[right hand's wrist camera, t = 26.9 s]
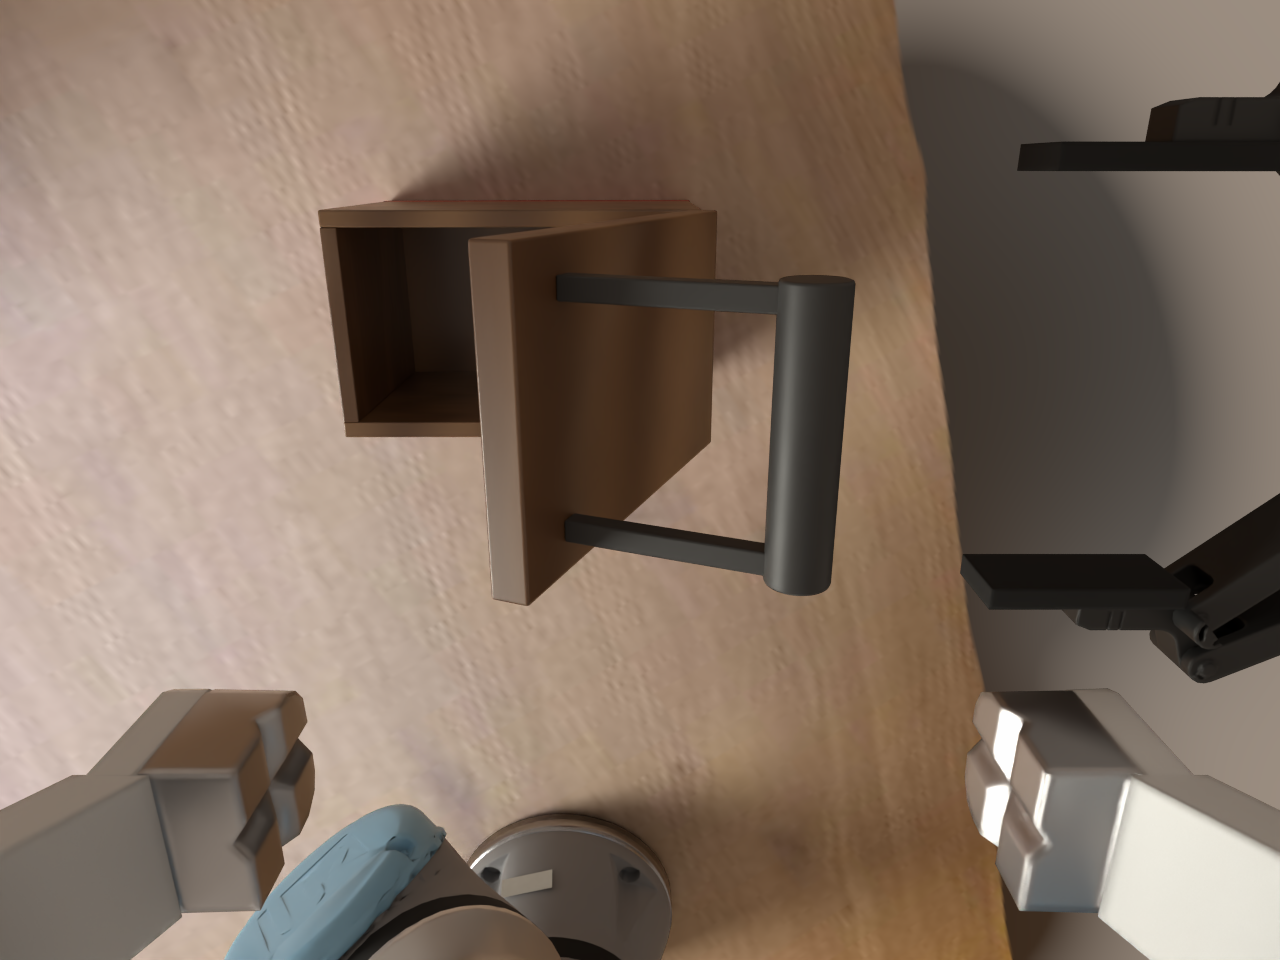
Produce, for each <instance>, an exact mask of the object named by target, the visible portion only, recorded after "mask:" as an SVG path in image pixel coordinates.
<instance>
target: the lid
mask: <svg viewBox="0 0 1280 960" xmlns="http://www.w3.org/2000/svg"><path fill="white" fill-rule="evenodd" d="M716 232H717V211H715V210H687V211H679V212H671V213H664V214H656V215H648V216H640V217H633V218H625V219H617V220H609V221H601V222H594V223H586V224H578V225H570V226H563V227H555V228H547V229H539V230H532V231H524V232H516V233H508V234H500V235H493V236H485V237H477V238H471V239H469V240H468V251H469V266H470V281H471V296H472V310H473V325H474V340H475V354H476V369H477V384H478V398H479V413H480V428H481V443H482V457H483V472H484V487H485V501H486V516H487V531H488V545H489V560H490V575H491V590H492V598H493V599H495V600H500V601H505V602H510V603H515V604H520V605H524V606H528V605H530V604H531V603H532V602H533V601H535V600H536V599H537V598H538V597H539V596H540V595H541V594H542V593H543V592H545V591H546V590H547V589H548V588H549V587H550V586H551V585H552V584H553V583H555V582H556V581H557V580H558V579H559V578H560V577H561V576H562V575H564V574H565V573H566V572H567V571H568V570H569V569H570V568H571V567H572V566H574V565H575V564H576V563H577V562H578V561H579V560H580V559H581V558H582V557H584V556H585V555H586V554H587V553H588V552H589V551H590V550H591V549H592V548H594V547H600V548H606V549H611V550H617V551H623V552H629V553H635V554H640V555H646V556H652V557H658V558H664V559H669V560H675V561H681V562H687V563H693V564H699V565H704V566H710V567H716V568H722V569H728V570H733V571H739V572H745V573H751V574H757V575H762V576H763V579H764V582H765V583H766V585H767V586H768V587H770V588H771V589H773V590H775V591H777V592H780V593H783V594H788V595H794V596H810V595H816V594H819V593H822V592H824V591H825V590H827V589H828V587H829V586H830V584H831V574H832V562H833V550H834V538H835V526H836V514H837V501H838V489H839V477H840V465H841V453H842V441H843V429H844V416H845V404H846V392H847V380H848V368H849V356H850V344H851V331H852V319H853V307H854V295H855V281H854V280H852V279H850V278H846V277H839V276H826V275H797V276H788V277H784V278H781V279H780V280H779V282H762V281H741V280H719V279H715V268H716ZM714 311H724V312H741V313H758V314H774V315H777V318H776V338H775V357H774V376H773V395H772V414H771V433H770V453H769V472H768V491H767V510H766V529H765V543H760V542H754V541H748V540H741V539H735V538H729V537H722V536H716V535H710V534H703V533H697V532H691V531H684V530H678V529H672V528H665V527H659V526H653V525H646V524H640V523H634V522H627V521H624V520H625V519H626V518H627V517H628V516H629V515H630V514H631V513H632V512H634V511H635V510H636V509H637V508H638V507H639V506H640V505H641V504H642V503H644V502H645V501H646V500H647V499H648V498H649V497H650V496H651V495H652V494H654V493H655V492H656V491H657V490H658V489H659V488H660V487H661V486H662V485H664V484H665V483H666V482H667V481H668V480H669V479H670V478H671V477H672V476H674V475H675V474H676V473H677V472H678V471H679V470H680V469H681V468H682V467H684V466H685V465H686V464H687V463H688V462H689V461H690V460H691V459H692V458H694V457H695V456H696V455H697V454H698V453H699V452H700V451H701V450H702V449H704V448H705V447H706V446H707V445H708V444H709V443H710V442H711V414H712V377H713V341H714Z"/></svg>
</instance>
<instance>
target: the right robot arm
mask: <svg viewBox="0 0 1280 960" xmlns="http://www.w3.org/2000/svg"><path fill="white" fill-rule="evenodd" d="M306 723H307V717H306V712H305V707H304V702H303V698H302V697H301V696H300V695H299V694H298V693H297V692H296V691H274V690H226V689H215V690H210V689H173V690H169V691H166V692H163V693H162V694H161V695H160V696H159V697H158V698H157V699H156V700H155V701H154V702H153V703H152V704H151V705H150V706H149V708H148V709H147V710H146V711H145V712H144V713H143V714H142V715H141V716H140V717H139V718H138V719H137V721H136V722H135V723H134V724H133V725H132V726H131V727H130V728H129V729H128V730H127V731H126V732H125V734H124V735H123V736H122V737H121V738H120V739H119V740H118V741H117V742H116V743H115V744H114V745H113V747H112V748H111V749H110V750H109V751H108V752H107V753H106V754H105V755H104V756H103V757H102V758H101V760H100V761H99V762H98V763H97V764H96V765H95V766H94V767H93V768H92V769H91V770H90V772H89V773H88V774H87V775H72V776H70V777H68V778H66V779H63V780H61V781H59V782H57V783H55V784H53V785H51V786H49V787H47V788H45V789H43V790H41V791H39V792H37V793H35V794H33V795H31V796H29V797H27V798H24V799H22V800H20V801H18V802H16V803H14V804H12V805H10V806H8V807H6V808H4V809H2V810H0V960H131V959H132V958H133V957H134V956H136V955H137V954H138V953H139V952H140V951H142V950H143V949H144V948H145V947H146V946H148V945H149V944H150V943H151V942H152V941H154V940H155V939H156V938H157V937H158V936H160V935H161V934H162V933H163V932H165V931H166V930H167V929H168V928H169V927H171V926H172V925H173V924H174V923H175V922H177V921H178V920H179V919H180V918H181V917H182V914H181V913H197V912H231V911H261V909H262V907H263V905H264V903H265V901H266V899H267V897H268V895H269V893H270V891H271V889H272V887H273V885H274V883H275V882H276V880H277V878H278V876H279V874H280V872H281V870H282V868H283V866H284V864H285V863H284V857H283V851H282V846H284V845H285V844H287V843H288V842H289V841H291V840H292V839H294V838H295V837H297V836H298V835H300V833H301V831H302V829H303V827H304V824H305V822H306V820H307V818H308V816H309V813H310V808H311V804H312V799H313V795H314V791H315V768H314V761H313V754H312V752H311V751H310V750H309V749H308V748H307V747H306V746H305V745H304V744H303V743H302V742H301V741H300V740H299V739H298V737H299V735H300V734H301V732H302V730H303V728H304V727H305V725H306ZM973 723H974V725H975V727H976V728H977V730H978V732H979V734H980V735H981V737H982V739H981V740H980V741H979V742H978V743H977V744H976V745H975V746H974V747H973V748H972V749H971V750H970V751H969V752H968V754H967V762H966V771H965V785H966V795H967V802H968V805H969V809H970V812H971V816H972V818H973V821H974V823H975V825H976V827H977V829H978V831H979V833H980V835H982V836H983V837H985V838H986V839H988V840H989V841H991V842H992V843H993V844H995V845H996V846H998V851H997V857H996V863H995V864H996V866H997V868H998V870H999V872H1000V874H1001V876H1002V878H1003V880H1004V882H1005V883H1006V885H1007V887H1008V889H1009V891H1010V893H1011V895H1012V897H1013V899H1014V901H1015V903H1016V905H1017V906H1018V908H1019V910H1020V911H1048V912H1083V913H1099V914H1098V917H1099V918H1100V919H1101V920H1103V921H1104V922H1105V923H1106V924H1107V925H1109V926H1110V927H1111V928H1112V929H1113V930H1115V931H1116V932H1117V933H1118V934H1120V935H1121V936H1122V937H1123V938H1124V939H1126V940H1127V941H1128V942H1129V943H1130V944H1132V945H1133V946H1134V947H1135V948H1136V949H1138V950H1139V951H1140V952H1141V953H1142V954H1144V955H1145V956H1146V957H1147V958H1148V959H1150V960H1280V810H1278V809H1276V808H1274V807H1272V806H1270V805H1268V804H1266V803H1264V802H1262V801H1259V800H1257V799H1255V798H1253V797H1251V796H1249V795H1247V794H1245V793H1243V792H1241V791H1239V790H1237V789H1235V788H1233V787H1231V786H1229V785H1227V784H1225V783H1223V782H1221V781H1218V780H1216V779H1214V778H1212V777H1210V776H1208V775H1193V774H1192V773H1191V772H1190V770H1189V769H1188V768H1187V767H1186V766H1185V765H1184V764H1183V763H1182V762H1181V761H1180V760H1179V759H1178V757H1177V756H1176V755H1175V754H1174V753H1173V752H1172V751H1171V750H1170V749H1169V748H1168V747H1167V746H1166V744H1165V743H1164V742H1163V741H1162V740H1161V739H1160V738H1159V737H1158V736H1157V735H1156V734H1155V732H1154V731H1153V730H1152V729H1151V728H1150V727H1149V726H1148V725H1147V724H1146V723H1145V722H1144V720H1143V719H1142V718H1141V717H1140V716H1139V715H1138V714H1137V713H1136V712H1135V711H1134V710H1133V709H1132V707H1131V706H1130V705H1129V704H1128V703H1127V702H1126V701H1125V700H1124V699H1123V698H1122V697H1121V696H1120V694H1119V693H1117V692H1114V691H1112V690H1110V689H1079V690H1065V691H1018V692H981V694H980V696H979V698H978V700H977V702H976V705H975V710H974V716H973Z"/></svg>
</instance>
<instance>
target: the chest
mask: <svg viewBox="0 0 1280 960" xmlns="http://www.w3.org/2000/svg"><path fill="white" fill-rule="evenodd" d="M687 210H701V209H700V208H698V207H697V206H695V205H694V204H692V203H691V202H690V201H689V200H461V201H384V202H379V203H371V204H363V205H355V206H347V207H340V208H332V209H324V210H319V211H318V216H319V224H320V227H322V228H320V234H321V242H322V250H323V259H324V267H325V275H326V283H327V291H328V299H329V307H330V315H331V323H332V331H333V339H334V347H335V355H336V363H337V371H338V379H339V387H340V395H341V403H342V411H343V419H344V428H345V436H346V437H481V428H480V413H479V398H478V384H477V369H476V354H475V340H474V325H473V310H472V296H471V281H470V266H469V251H468V240H469V239H471V238H477V237H485V236H493V235H500V234H508V233H516V232H524V231H532V230H539V229H547V228H555V227H563V226H570V225H578V224H586V223H594V222H601V221H609V220H617V219H625V218H633V217H640V216H648V215H656V214H664V213H671V212H679V211H687Z"/></svg>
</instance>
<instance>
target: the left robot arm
mask: <svg viewBox="0 0 1280 960" xmlns="http://www.w3.org/2000/svg"><path fill="white" fill-rule="evenodd" d="M1017 170H1018V171H1276V172H1277V173H1278V174H1279V175H1280V83H1279V84H1278V86H1277V87H1276V88H1275V89H1274V90H1273V91H1272V92H1271V93H1270V94H1268V95H1267V96H1265V97H1198V98H1190V99H1183V100H1175V101H1169V102H1167V103H1164V104H1162V105H1159V106H1157V107H1154V108H1152V109H1151V114H1150V119H1149V125H1148V130H1147V135H1146V140H1145V142H1050V143H1035V144H1021V148H1020V155H1019V162H1018V169H1017ZM960 574H961V575H962V576H963V577H964V579H965V580H966V581H967V582H968V584H969V585H970V586H971V587H972V589H973V590H974V591H975V592H976V594H977V595H978V596H979V598H980V599H981V600H982V601H983V603H984V604H985V605H986V606H987V608H988V609H1062V610H1063V611H1064V612H1065V613H1066V615H1067V616H1068V617H1069V618H1070V619H1071V620H1072V621H1073V622H1074V623H1075V624H1076V625H1078V626H1081V627H1083V628H1086V629H1088V630H1106V629H1107V630H1118V629H1119V630H1151V631H1150V640H1151V641H1152V643H1153V644H1154V645H1155V646H1156V647H1157V648H1159V649H1160V650H1161V651H1162V652H1163V653H1164V654H1165V655H1166V656H1167V657H1168V658H1169V659H1170V660H1172V661H1173V662H1174V663H1175V664H1176V665H1177V666H1178V667H1179V668H1180V669H1181V670H1182V671H1184V672H1185V673H1186V674H1187V675H1188V676H1189V677H1190V678H1191V679H1192V680H1194V681H1196V682H1197V683H1208V682H1212V681H1214V680H1217V679H1219V678H1222V677H1225V676H1227V675H1230V674H1232V673H1235V672H1238V671H1240V670H1243V669H1245V668H1248V667H1251V666H1253V665H1256V664H1258V663H1261V662H1264V661H1266V660H1269V659H1271V658H1274V657H1277V656H1279V655H1280V494H1278V495H1276V496H1275V497H1273V498H1272V499H1270V500H1269V501H1267V502H1266V503H1264V504H1263V505H1261V506H1260V507H1258V508H1257V509H1255V510H1253V511H1252V512H1250V513H1249V514H1247V515H1246V516H1244V517H1243V518H1241V519H1240V520H1238V521H1237V522H1235V523H1233V524H1232V525H1230V526H1229V527H1227V528H1226V529H1224V530H1223V531H1221V532H1220V533H1218V534H1217V535H1215V536H1213V537H1212V538H1210V539H1209V540H1207V541H1206V542H1204V543H1203V544H1201V545H1200V546H1198V547H1197V548H1195V549H1194V550H1192V551H1190V552H1189V553H1187V554H1186V555H1184V556H1183V557H1181V558H1180V559H1178V560H1177V561H1175V562H1174V563H1172V564H1170V565H1169V566H1167V567H1166V568H1163V567H1161V566H1160V565H1159V564H1157V563H1156V562H1155V561H1153V560H1152V559H1151V558H1149V557H1148V556H1147V555H1145V554H963V557H962V564H961V571H960ZM1194 594H1197V595H1194ZM445 836H446V832H445V830H444V828H442V827H436V825H435V824H434V823H433V822H432V821H431V820H430V819H429V818H428V817H427V816H426V815H425V814H424V813H423V812H422V811H420V810H419V809H417V808H416V807H413V806H410V805H403V804H398V805H391V806H387V807H383V808H381V809H378V810H375V811H373V812H371V813H369V814H367V815H365V816H363V817H361V818H360V819H358V820H357V821H355V822H353V823H351V824H350V825H348V826H347V827H345V828H343V829H342V830H341V831H339V832H338V833H336V834H335V835H334V836H332V837H331V838H330V839H328V840H327V841H326V842H325V843H324V844H322V845H321V846H320V847H319V848H317V849H316V850H315V851H314V852H313V853H311V854H310V855H309V856H308V857H307V858H306V859H305V860H304V861H302V862H301V863H300V864H299V865H298V866H297V867H296V868H295V869H294V870H293V871H292V872H291V873H290V874H289V875H288V876H287V877H286V878H285V879H284V880H283V881H282V882H281V883H280V884H279V885H278V886H277V887H276V888H275V889H274V890H273V891H272V893H271V894H270V895H269V896H268V897H267V899H266V901H265V903H264V905H263V907H262V909H261V911H255V913H254V914H253V915H252V917H251V918H250V919H249V920H248V922H247V924H246V925H245V927H244V928H243V929H242V930H241V932H240V933H239V935H238V936H237V938H236V939H235V941H234V942H233V944H232V946H231V947H230V949H229V951H228V953H227V955H226V957H225V959H224V960H661V958H662V955H663V952H664V949H665V946H666V944H667V940H668V937H669V932H670V927H671V920H672V910H671V890H670V885H669V881H668V877H667V874H666V872H665V870H664V868H663V866H662V864H661V863H660V861H659V859H658V858H657V857H656V855H655V854H654V853H653V852H652V850H651V849H650V848H649V847H648V846H647V845H646V844H645V843H643V842H642V841H641V840H640V839H639V838H637V837H636V836H634V835H633V834H632V833H630V832H628V831H626V830H625V829H623V828H621V827H619V826H617V825H615V824H612V823H609V822H607V821H604V820H601V819H597V818H593V817H588V816H583V815H575V814H550V815H541V816H536V817H531V818H528V819H524V820H521V821H518V822H516V823H513V824H510V825H508V826H506V827H504V828H502V829H501V830H499V831H497V832H496V833H494V834H493V835H491V836H490V837H489V838H488V839H486V840H485V841H484V842H483V843H482V844H481V845H480V846H479V847H478V848H477V849H476V850H475V852H474V853H473V854H472V856H471V857H470V859H469V860H468V862H467V863H466V862H465V861H464V860H463V859H462V858H461V856H460V855H459V854H458V853H457V852H456V850H455V849H454V848H453V847H452V846H451V844H450V843H449V842H448V841H447V840H446V839H445Z"/></svg>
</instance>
